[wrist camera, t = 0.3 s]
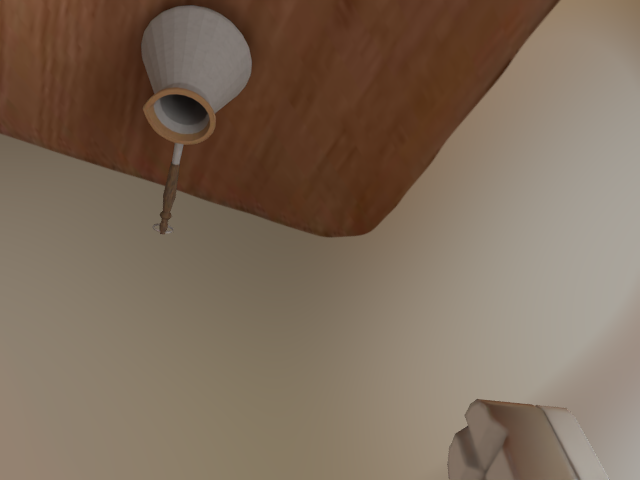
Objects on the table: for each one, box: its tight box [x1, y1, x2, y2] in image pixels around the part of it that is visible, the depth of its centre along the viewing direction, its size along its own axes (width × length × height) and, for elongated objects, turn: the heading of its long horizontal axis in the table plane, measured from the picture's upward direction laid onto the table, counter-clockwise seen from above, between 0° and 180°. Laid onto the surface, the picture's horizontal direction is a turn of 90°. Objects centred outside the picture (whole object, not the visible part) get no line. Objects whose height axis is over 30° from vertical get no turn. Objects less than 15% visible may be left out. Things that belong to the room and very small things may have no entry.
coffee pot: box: [141, 5, 252, 234], centre depth 58 cm, size 21×12×15 cm, turn 162°
